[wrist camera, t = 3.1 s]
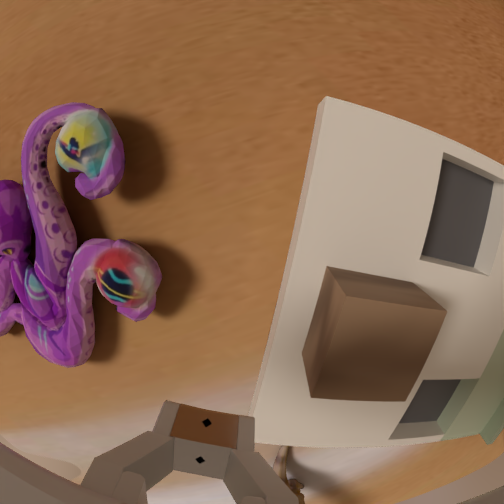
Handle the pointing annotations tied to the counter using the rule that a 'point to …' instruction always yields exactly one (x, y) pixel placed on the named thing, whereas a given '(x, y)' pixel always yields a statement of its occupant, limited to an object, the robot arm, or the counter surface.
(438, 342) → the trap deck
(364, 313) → the walnut block
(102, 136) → the decorative sculpture
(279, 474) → the toy
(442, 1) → the counter surface
